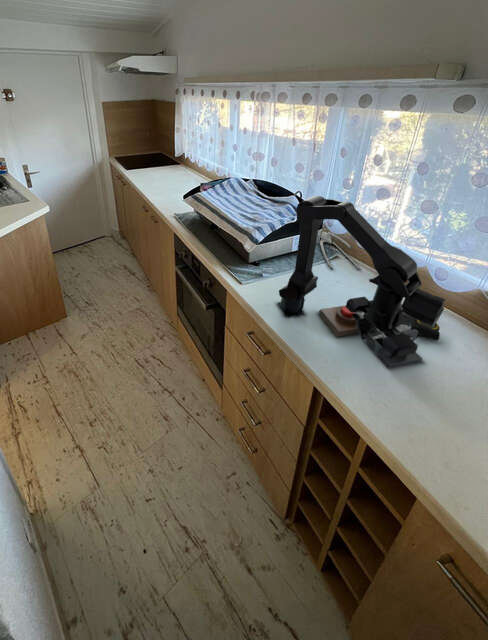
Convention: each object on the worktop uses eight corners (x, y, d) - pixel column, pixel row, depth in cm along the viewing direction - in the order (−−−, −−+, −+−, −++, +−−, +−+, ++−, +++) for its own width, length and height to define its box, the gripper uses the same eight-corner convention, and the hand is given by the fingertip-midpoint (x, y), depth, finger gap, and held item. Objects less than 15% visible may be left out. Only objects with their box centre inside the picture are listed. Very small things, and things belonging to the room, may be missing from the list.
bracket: (388, 367, 82) (400, 341, 77) (366, 342, 89) (375, 317, 85) (421, 361, 83) (434, 335, 78) (396, 337, 91) (406, 312, 86)
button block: (337, 336, 91) (340, 326, 90) (318, 314, 100) (321, 304, 98) (372, 331, 93) (376, 321, 91) (351, 309, 102) (354, 300, 100)
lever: (374, 351, 81) (375, 345, 79) (361, 337, 85) (362, 331, 84) (413, 339, 81) (414, 333, 80) (398, 326, 85) (399, 319, 84)
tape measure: (408, 334, 92) (412, 325, 90) (410, 321, 97) (414, 312, 95) (436, 344, 88) (441, 335, 86) (436, 330, 93) (441, 321, 91)
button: (346, 318, 93) (347, 314, 92) (338, 310, 96) (340, 306, 95) (356, 316, 94) (358, 312, 93) (349, 309, 97) (350, 304, 96)
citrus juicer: (351, 246, 118) (323, 219, 145) (326, 257, 120) (303, 228, 148) (360, 268, 121) (332, 238, 149) (336, 279, 124) (312, 247, 151)
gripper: (448, 324, 69) (424, 370, 76) (387, 276, 85) (372, 318, 92) (405, 331, 67) (385, 378, 75) (350, 281, 83) (338, 324, 91)
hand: (369, 346), depth 83 cm, fingers closed on lever, 5 cm apart
